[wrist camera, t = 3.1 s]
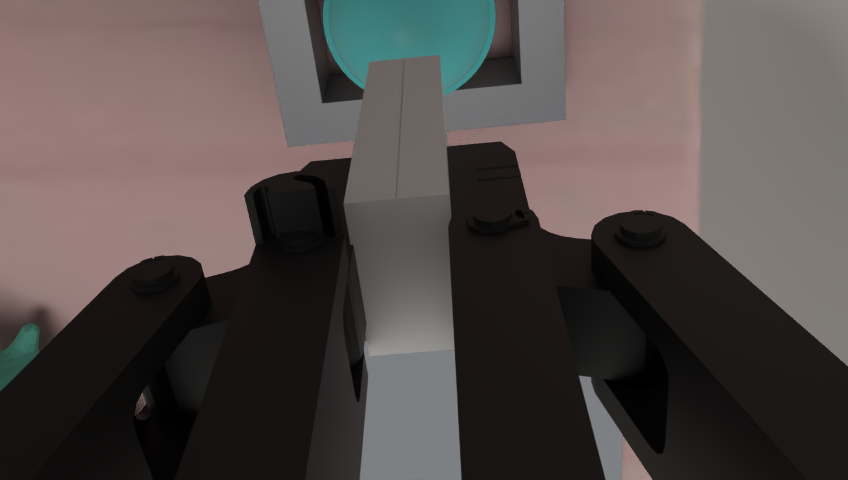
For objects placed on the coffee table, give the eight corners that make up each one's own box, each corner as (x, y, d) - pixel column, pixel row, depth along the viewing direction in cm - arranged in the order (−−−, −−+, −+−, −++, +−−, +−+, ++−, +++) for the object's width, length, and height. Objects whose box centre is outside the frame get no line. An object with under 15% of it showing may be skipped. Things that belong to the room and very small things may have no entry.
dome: (326, -88, 27) (300, -47, 21) (478, -105, 26) (496, -68, 20) (349, 59, 29) (331, 134, 23) (487, 45, 29) (506, 118, 23)
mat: (234, 348, 38) (233, 352, 37) (624, 314, 37) (626, 318, 36) (302, 595, 47) (302, 600, 46) (617, 573, 46) (618, 577, 46)
